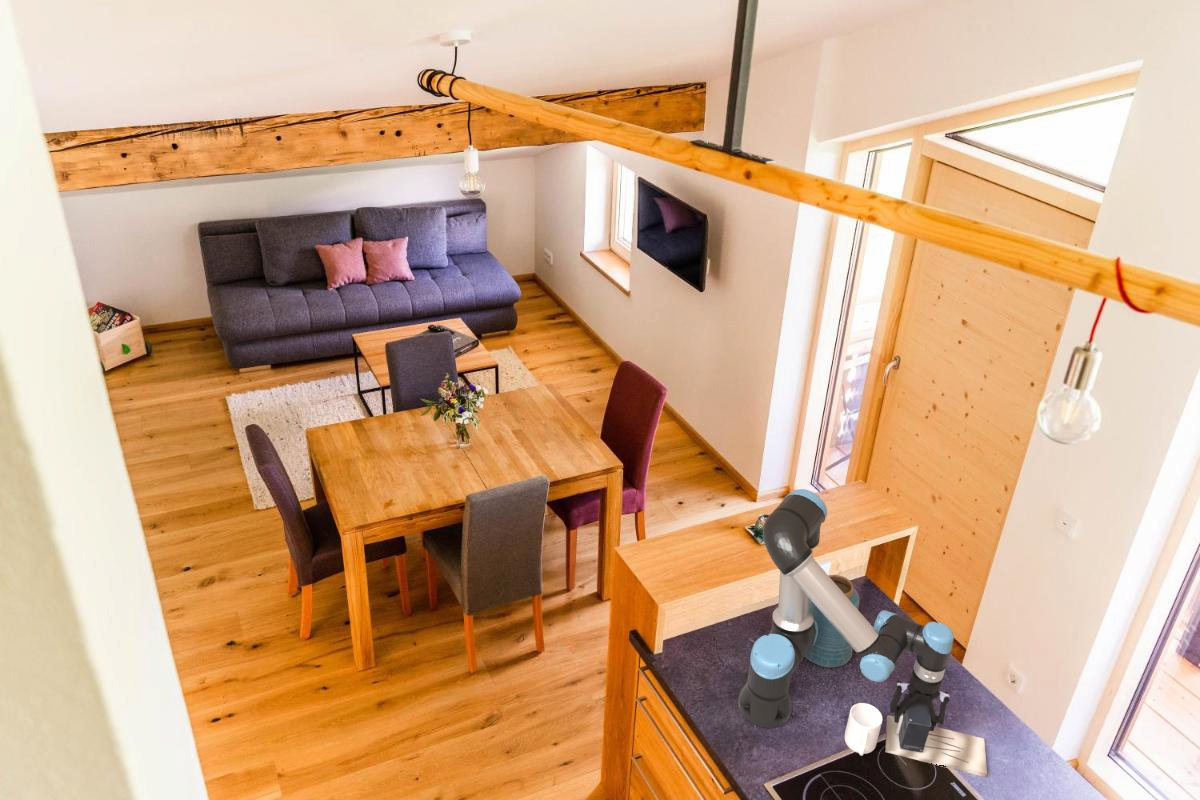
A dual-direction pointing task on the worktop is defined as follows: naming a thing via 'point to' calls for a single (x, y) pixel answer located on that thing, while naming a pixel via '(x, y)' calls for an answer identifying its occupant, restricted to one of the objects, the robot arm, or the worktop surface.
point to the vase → (831, 632)
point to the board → (943, 749)
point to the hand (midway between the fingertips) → (911, 733)
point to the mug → (863, 728)
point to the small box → (915, 726)
